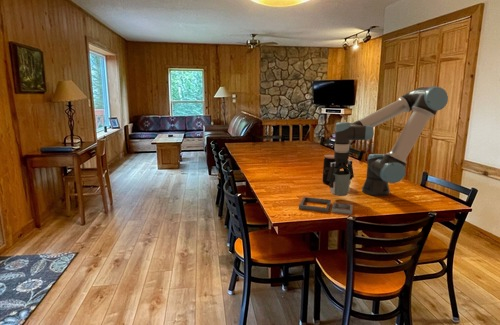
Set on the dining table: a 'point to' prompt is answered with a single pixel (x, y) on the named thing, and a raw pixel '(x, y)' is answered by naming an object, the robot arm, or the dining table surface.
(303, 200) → the square hollow frame
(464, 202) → the dining table surface
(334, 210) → the grey diamond-shaped open frame
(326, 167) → the coffee jar
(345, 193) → the grey cup
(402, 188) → the dining table surface
